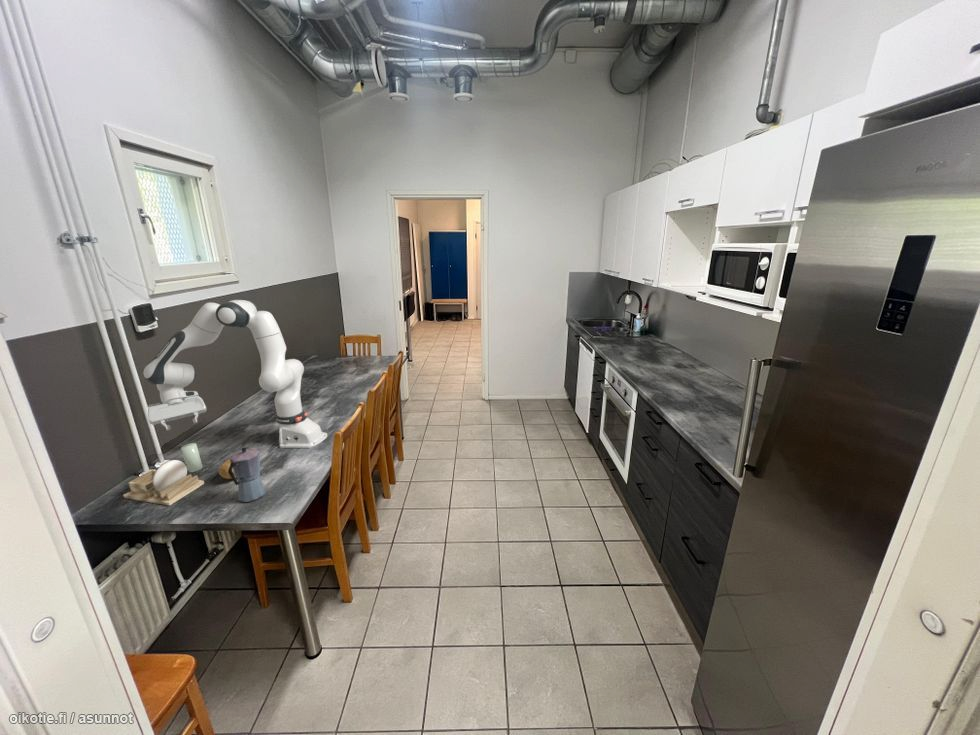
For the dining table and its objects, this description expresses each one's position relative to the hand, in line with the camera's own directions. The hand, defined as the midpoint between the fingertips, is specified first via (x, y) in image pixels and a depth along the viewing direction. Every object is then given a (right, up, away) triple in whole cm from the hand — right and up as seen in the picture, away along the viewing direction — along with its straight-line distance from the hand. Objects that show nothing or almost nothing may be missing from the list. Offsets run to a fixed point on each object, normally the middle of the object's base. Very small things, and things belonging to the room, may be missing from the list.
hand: (182, 426), depth 167 cm
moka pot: (+45, -24, -22) cm, 55 cm away
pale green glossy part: (+8, -18, -3) cm, 20 cm away
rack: (+8, -22, -18) cm, 30 cm away
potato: (+30, -19, -8) cm, 36 cm away
